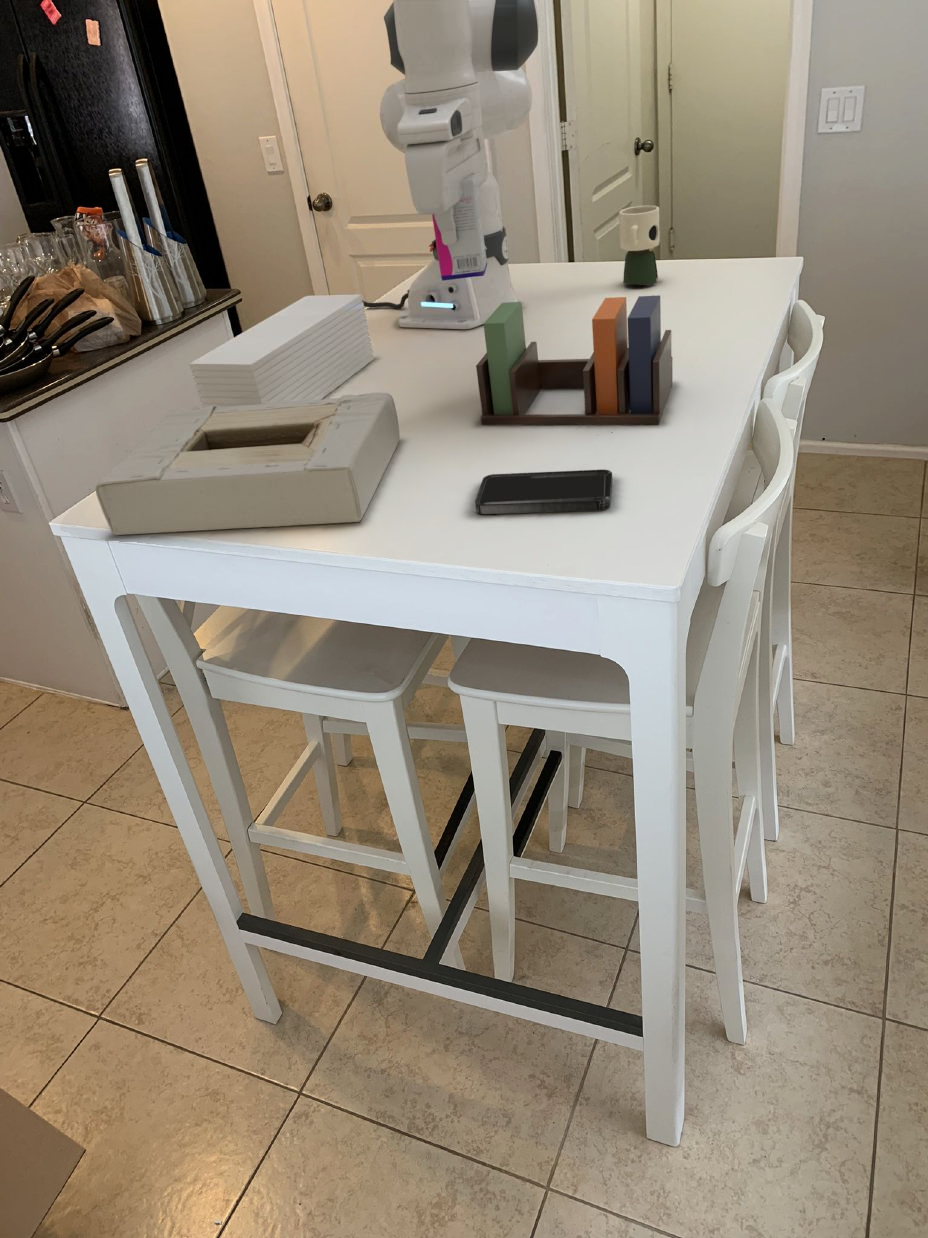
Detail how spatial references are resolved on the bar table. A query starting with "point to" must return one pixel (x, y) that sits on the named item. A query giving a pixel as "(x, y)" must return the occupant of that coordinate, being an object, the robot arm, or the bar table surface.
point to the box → (254, 466)
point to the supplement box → (464, 237)
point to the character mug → (639, 243)
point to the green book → (504, 351)
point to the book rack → (573, 375)
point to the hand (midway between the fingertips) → (459, 235)
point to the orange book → (609, 351)
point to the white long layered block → (288, 355)
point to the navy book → (643, 351)
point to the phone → (545, 492)
